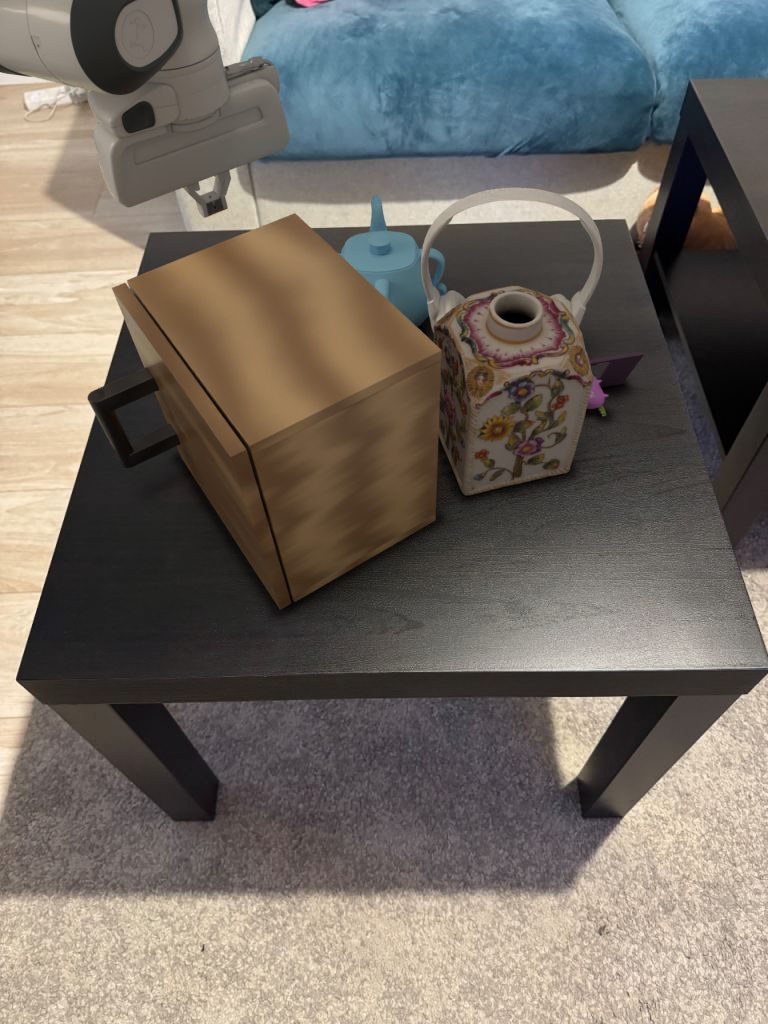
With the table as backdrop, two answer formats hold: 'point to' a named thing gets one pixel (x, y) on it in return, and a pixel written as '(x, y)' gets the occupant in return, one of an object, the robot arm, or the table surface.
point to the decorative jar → (510, 388)
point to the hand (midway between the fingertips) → (213, 211)
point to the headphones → (452, 298)
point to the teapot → (393, 265)
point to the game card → (611, 376)
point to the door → (190, 440)
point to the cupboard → (309, 391)
